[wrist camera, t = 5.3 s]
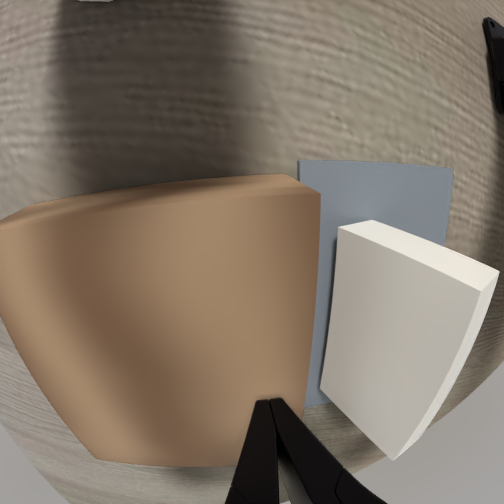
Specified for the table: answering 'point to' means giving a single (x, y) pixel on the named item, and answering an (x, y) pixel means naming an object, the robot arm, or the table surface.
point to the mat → (363, 209)
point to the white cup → (97, 0)
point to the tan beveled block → (165, 311)
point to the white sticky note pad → (399, 329)
